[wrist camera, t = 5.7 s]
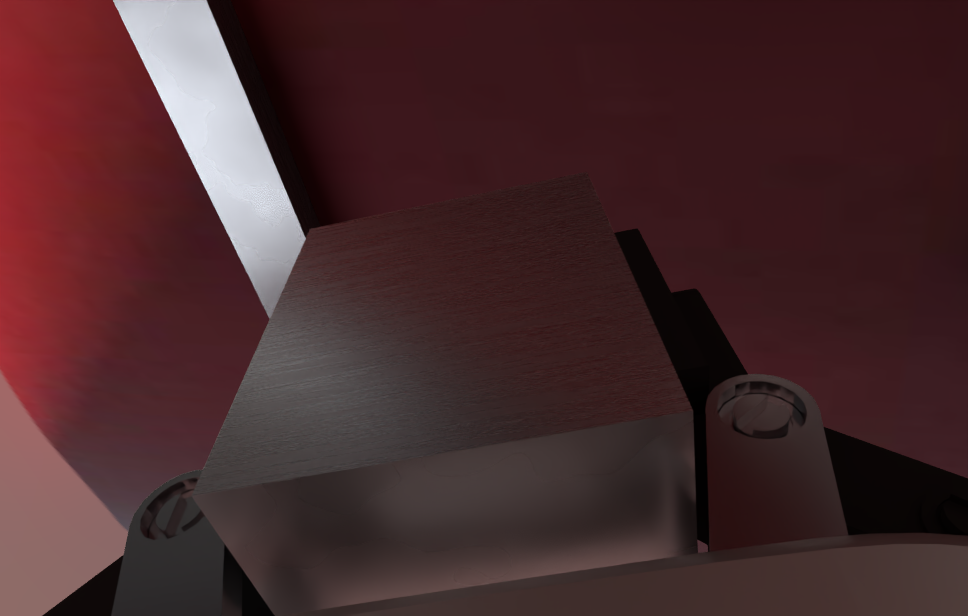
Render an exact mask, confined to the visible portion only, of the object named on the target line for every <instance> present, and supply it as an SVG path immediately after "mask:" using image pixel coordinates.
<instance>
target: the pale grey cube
mask: <svg viewBox="0 0 968 616" xmlns="http://www.w3.org/2000/svg"><path fill="white" fill-rule="evenodd" d="M192 498H193V499H194V501H195V502H196V503H197V505H198V506H199V508H200V509H201V511H202V512H203V513H204V515H205V516H206V518H207V519H208V521H209V522H210V523H211V525H212V526H213V528H214V529H215V531H216V532H217V533H218V535H219V536H220V538H221V539H222V541H223V542H224V544H225V545H226V546H227V548H228V549H229V551H230V552H231V554H232V555H233V556H234V558H235V559H236V561H237V562H238V564H239V565H240V566H241V568H242V569H243V571H244V572H245V574H246V575H247V577H248V578H249V579H250V581H251V582H252V584H253V585H254V587H255V588H256V589H257V591H258V592H259V594H260V595H261V597H262V598H263V599H264V601H265V602H266V604H267V605H268V607H269V608H270V610H271V611H272V612H273V614H274V615H275V616H282V615H288V614H294V613H301V612H307V611H314V610H320V609H326V608H333V607H339V606H346V605H353V604H359V603H366V602H372V601H379V600H385V599H392V598H399V597H405V596H412V595H418V594H425V593H432V592H438V591H445V590H452V589H458V588H465V587H472V586H478V585H485V584H492V583H498V582H505V581H512V580H518V579H525V578H532V577H539V576H545V575H552V574H559V573H566V572H573V571H580V570H587V569H594V568H600V567H607V566H614V565H621V564H628V563H635V562H642V561H649V560H655V559H662V558H669V557H676V556H683V555H690V554H697V553H698V548H697V517H696V486H695V455H694V424H693V409H692V407H691V405H690V403H689V400H688V398H687V396H686V394H685V391H684V389H683V387H682V385H681V382H680V380H679V378H678V376H677V373H676V371H675V369H674V367H673V364H672V362H671V360H670V358H669V355H668V353H667V351H666V349H665V346H664V344H663V342H662V340H661V337H660V335H659V333H658V331H657V328H656V326H655V324H654V322H653V319H652V317H651V315H650V313H649V310H648V308H647V306H646V304H645V301H644V299H643V297H642V295H641V292H640V290H639V288H638V286H637V283H636V281H635V279H634V277H633V274H632V272H631V270H630V268H629V265H628V263H627V261H626V259H625V256H624V254H623V252H622V250H621V247H620V245H619V243H618V241H617V238H616V236H615V234H614V232H613V229H612V227H611V225H610V223H609V220H608V218H607V216H606V214H605V211H604V209H603V207H602V205H601V202H600V200H599V198H598V196H597V193H596V191H595V189H594V187H593V185H592V182H591V180H590V178H589V176H588V173H587V172H584V173H579V174H574V175H569V176H564V177H560V178H555V179H550V180H545V181H540V182H535V183H531V184H526V185H521V186H516V187H511V188H506V189H501V190H497V191H492V192H487V193H482V194H477V195H472V196H467V197H463V198H458V199H453V200H448V201H443V202H438V203H433V204H429V205H424V206H419V207H414V208H409V209H404V210H399V211H395V212H390V213H385V214H380V215H375V216H370V217H365V218H361V219H356V220H351V221H346V222H341V223H336V224H331V225H327V226H322V227H317V228H312V229H310V230H309V232H308V235H307V237H306V239H305V241H304V244H303V246H302V248H301V250H300V253H299V255H298V257H297V259H296V262H295V264H294V266H293V268H292V271H291V273H290V275H289V277H288V280H287V282H286V284H285V286H284V289H283V291H282V293H281V295H280V298H279V300H278V302H277V304H276V307H275V309H274V311H273V313H272V316H271V318H270V320H269V322H268V325H267V327H266V329H265V331H264V334H263V336H262V338H261V340H260V343H259V345H258V347H257V349H256V352H255V354H254V356H253V358H252V361H251V363H250V365H249V367H248V370H247V372H246V374H245V376H244V379H243V381H242V383H241V385H240V388H239V390H238V392H237V394H236V397H235V399H234V401H233V403H232V406H231V408H230V410H229V412H228V415H227V417H226V419H225V421H224V424H223V426H222V428H221V430H220V433H219V435H218V437H217V439H216V442H215V444H214V446H213V448H212V451H211V453H210V455H209V458H208V460H207V462H206V464H205V467H204V469H203V471H202V473H201V476H200V478H199V480H198V482H197V485H196V487H195V489H194V491H193V494H192Z"/></svg>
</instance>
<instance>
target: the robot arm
mask: <svg viewBox="0 0 968 616" xmlns="http://www.w3.org/2000/svg"><path fill="white" fill-rule="evenodd" d="M614 234H615V236H616V238H617V241H618V243H619V245H620V247H621V250H622V252H623V254H624V256H625V259H626V261H627V263H628V265H629V268H630V270H631V272H632V274H633V277H634V279H635V281H636V283H637V286H638V288H639V290H640V292H641V295H642V297H643V299H644V301H645V304H646V306H647V308H648V310H649V313H650V315H651V317H652V319H653V322H654V324H655V326H656V328H657V331H658V333H659V335H660V337H661V340H662V342H663V344H664V346H665V349H666V351H667V353H668V355H669V358H670V360H671V362H672V364H673V367H674V369H675V371H676V373H677V376H678V378H679V380H680V382H681V385H682V387H683V389H684V391H685V394H686V396H687V398H688V400H689V403H690V405H691V407H692V409H693V424H694V455H695V486H696V517H697V539H698V540H700V541H701V542H703V543H705V544H707V545H708V552H705V553H697V554H690V555H683V556H676V557H669V558H662V559H655V560H649V561H642V562H635V563H628V564H621V565H614V566H607V567H600V568H594V569H587V570H580V571H573V572H566V573H559V574H552V575H545V576H539V577H532V578H525V579H518V580H512V581H505V582H498V583H492V584H485V585H478V586H472V587H465V588H458V589H452V590H445V591H438V592H432V593H425V594H418V595H412V596H405V597H399V598H392V599H385V600H379V601H372V602H366V603H359V604H353V605H346V606H339V607H333V608H326V609H320V610H314V611H307V612H301V613H294V614H288V615H282V616H968V478H965V477H962V476H959V475H957V474H954V473H951V472H948V471H945V470H943V469H940V468H937V467H934V466H931V465H929V464H926V463H923V462H920V461H918V460H915V459H912V458H909V457H906V456H904V455H901V454H898V453H895V452H892V451H890V450H887V449H884V448H881V447H878V446H876V445H873V444H870V443H867V442H865V441H862V440H859V439H856V438H853V437H851V436H848V435H845V434H842V433H839V432H837V431H834V430H831V429H828V428H825V427H823V423H822V419H821V414H820V410H819V408H818V406H817V404H816V402H815V400H814V398H813V397H812V396H811V395H810V394H809V393H808V392H807V391H806V390H805V389H804V388H802V387H800V386H798V385H796V384H795V383H793V382H791V381H789V380H786V379H782V378H779V377H776V376H771V375H762V374H750V375H748V374H747V372H746V370H745V369H744V367H743V365H742V364H741V362H740V360H739V358H738V357H737V355H736V353H735V352H734V350H733V348H732V347H731V345H730V343H729V342H728V340H727V338H726V336H725V335H724V333H723V331H722V330H721V328H720V326H719V325H718V323H717V321H716V319H715V318H714V316H713V314H712V313H711V311H710V309H709V308H708V306H707V304H706V303H705V301H704V299H703V297H702V296H701V294H700V293H699V292H698V290H697V289H689V290H684V291H679V292H673V293H671V292H670V290H669V288H668V286H667V284H666V282H665V280H664V278H663V276H662V274H661V272H660V270H659V268H658V267H657V265H656V263H655V261H654V259H653V257H652V255H651V253H650V251H649V249H648V247H647V245H646V243H645V241H644V240H643V238H642V236H641V234H640V232H639V230H638V229H632V230H627V231H622V232H617V233H614ZM202 471H203V470H195V471H191V472H188V473H184V474H181V475H179V476H177V477H175V478H173V479H171V480H169V481H167V482H166V483H164V484H163V485H161V486H160V487H158V488H157V489H156V490H154V491H153V492H152V493H151V494H150V495H149V496H148V497H147V498H146V499H145V500H144V501H143V502H142V504H141V505H140V506H139V508H138V509H137V511H136V512H135V513H134V516H133V518H132V521H131V523H130V526H129V531H128V536H127V541H126V547H125V551H124V555H123V556H121V557H120V558H119V559H118V560H116V561H115V562H113V563H112V564H111V565H109V566H108V567H107V568H105V569H104V570H103V571H101V572H100V573H99V574H98V575H96V576H95V577H94V578H92V579H91V580H89V581H88V582H87V583H85V584H84V585H83V586H81V587H80V588H79V589H77V590H76V591H75V592H73V593H72V594H71V595H69V596H68V597H67V598H65V599H64V600H63V601H62V602H60V603H59V604H57V605H56V606H55V607H53V608H52V609H51V610H49V611H48V612H47V613H45V614H44V615H43V616H275V615H274V614H273V612H272V611H271V610H270V608H269V607H268V605H267V604H266V602H265V601H264V599H263V598H262V597H261V595H260V594H259V592H258V591H257V589H256V588H255V587H254V585H253V584H252V582H251V581H250V579H249V578H248V577H247V575H246V574H245V572H244V571H243V569H242V568H241V566H240V565H239V564H238V562H237V561H236V559H235V558H234V556H233V555H232V554H231V552H230V551H229V549H228V548H227V546H226V545H225V544H224V542H223V541H222V539H221V538H220V536H219V535H218V533H217V532H216V531H215V529H214V528H213V526H212V525H211V523H210V522H209V521H208V519H207V518H206V516H205V515H204V513H203V512H202V511H201V509H200V508H199V506H198V505H197V503H196V502H195V501H194V499H193V498H192V494H193V491H194V489H195V487H196V485H197V482H198V480H199V478H200V476H201V473H202Z"/></svg>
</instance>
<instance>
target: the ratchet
mask: <svg viewBox="0 0 968 616" xmlns="http://www.w3.org/2000/svg"><path fill="white" fill-rule="evenodd" d="M113 1H114V3H115V5H116V7H117V9H118V11H119V13H120V16H121V18H122V20H123V22H124V24H125V26H126V28H127V30H128V32H129V34H130V36H131V38H132V40H133V42H134V44H135V46H136V48H137V50H138V52H139V54H140V56H141V58H142V60H143V62H144V64H145V66H146V68H147V70H148V72H149V74H150V76H151V78H152V81H153V83H154V85H155V87H156V89H157V91H158V93H159V95H160V97H161V99H162V101H163V103H164V105H165V107H166V109H167V111H168V113H169V115H170V117H171V119H172V121H173V123H174V125H175V127H176V129H177V131H178V133H179V135H180V137H181V139H182V141H183V143H184V145H185V148H186V150H187V152H188V154H189V156H190V158H191V160H192V162H193V164H194V166H195V168H196V170H197V172H198V174H199V176H200V178H201V180H202V182H203V184H204V186H205V188H206V190H207V192H208V194H209V196H210V198H211V200H212V202H213V204H214V206H215V208H216V210H217V213H218V215H219V217H220V219H221V221H222V223H223V225H224V227H225V229H226V231H227V233H228V235H229V237H230V239H231V241H232V243H233V245H234V247H235V249H236V251H237V253H238V255H239V257H240V259H241V261H242V263H243V265H244V267H245V269H246V271H247V273H248V275H249V277H250V280H251V282H252V284H253V286H254V288H255V290H256V292H257V294H258V296H259V298H260V300H261V302H262V304H263V306H264V308H265V310H266V312H267V314H268V316H269V318H271V316H272V313H273V311H274V309H275V307H276V304H277V302H278V300H279V298H280V295H281V293H282V291H283V289H284V286H285V284H286V282H287V280H288V277H289V275H290V273H291V271H292V268H293V266H294V264H295V262H296V259H297V257H298V255H299V253H300V250H301V248H302V246H303V244H304V241H305V239H306V237H307V235H308V232H309V230H310V229H312V228H317V227H321V226H320V224H319V221H318V219H317V216H316V214H315V211H314V209H313V206H312V204H311V201H310V199H309V196H308V194H307V191H306V189H305V186H304V184H303V181H302V179H301V176H300V173H299V171H298V168H297V166H296V163H295V161H294V158H293V156H292V153H291V151H290V148H289V146H288V143H287V141H286V138H285V136H284V133H283V131H282V128H281V126H280V123H279V121H278V118H277V116H276V113H275V110H274V108H273V105H272V103H271V100H270V98H269V95H268V93H267V90H266V88H265V85H264V83H263V80H262V78H261V75H260V73H259V70H258V68H257V65H256V63H255V60H254V58H253V55H252V53H251V50H250V47H249V45H248V42H247V40H246V37H245V35H244V32H243V30H242V27H241V25H240V22H239V20H238V17H237V15H236V12H235V10H234V7H233V5H232V2H231V0H113Z"/></svg>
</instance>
